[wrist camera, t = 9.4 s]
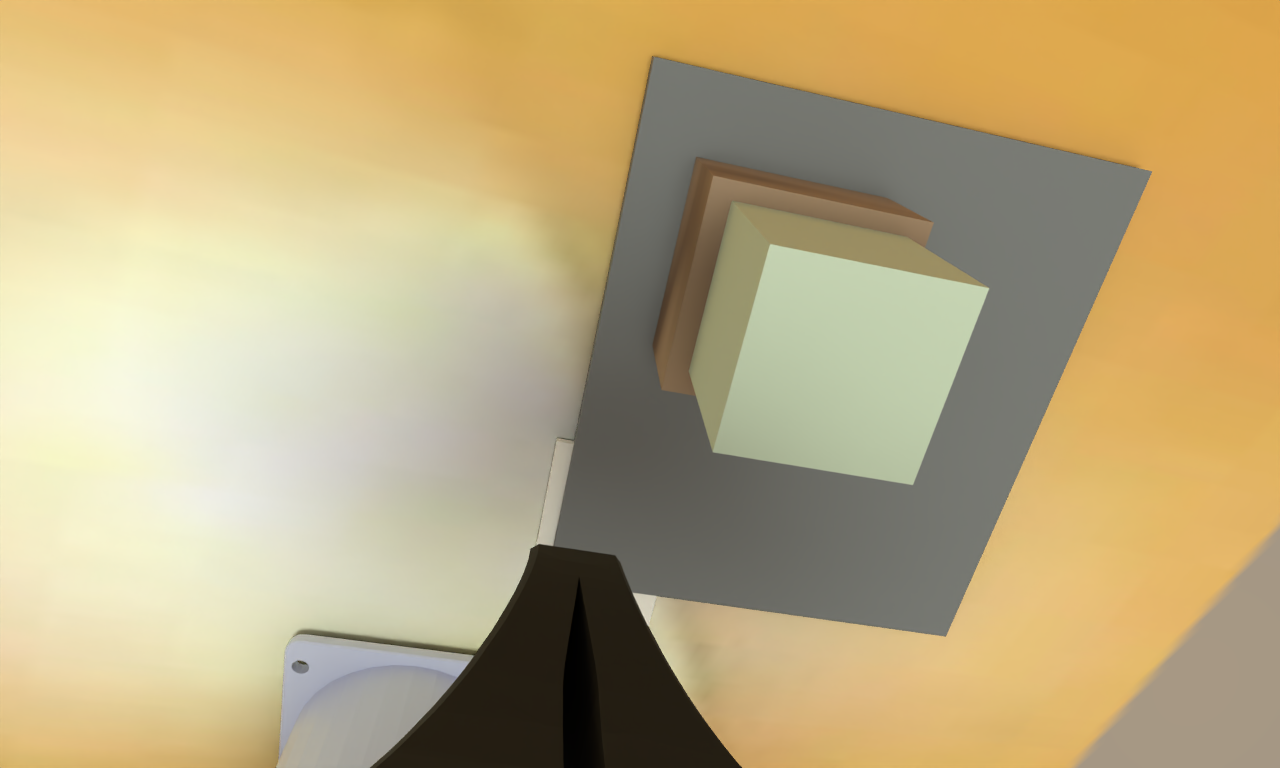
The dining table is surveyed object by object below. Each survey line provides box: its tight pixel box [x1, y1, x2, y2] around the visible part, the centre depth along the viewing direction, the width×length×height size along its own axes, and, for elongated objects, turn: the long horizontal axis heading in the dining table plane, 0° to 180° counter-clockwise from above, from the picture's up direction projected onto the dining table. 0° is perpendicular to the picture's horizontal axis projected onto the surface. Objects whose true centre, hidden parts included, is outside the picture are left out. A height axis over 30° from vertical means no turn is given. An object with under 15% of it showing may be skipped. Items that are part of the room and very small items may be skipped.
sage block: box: [689, 201, 989, 485], centre depth 16 cm, size 4×4×4 cm
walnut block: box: [652, 157, 934, 396], centre depth 20 cm, size 5×5×3 cm
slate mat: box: [553, 56, 1152, 636], centre depth 23 cm, size 15×13×1 cm
